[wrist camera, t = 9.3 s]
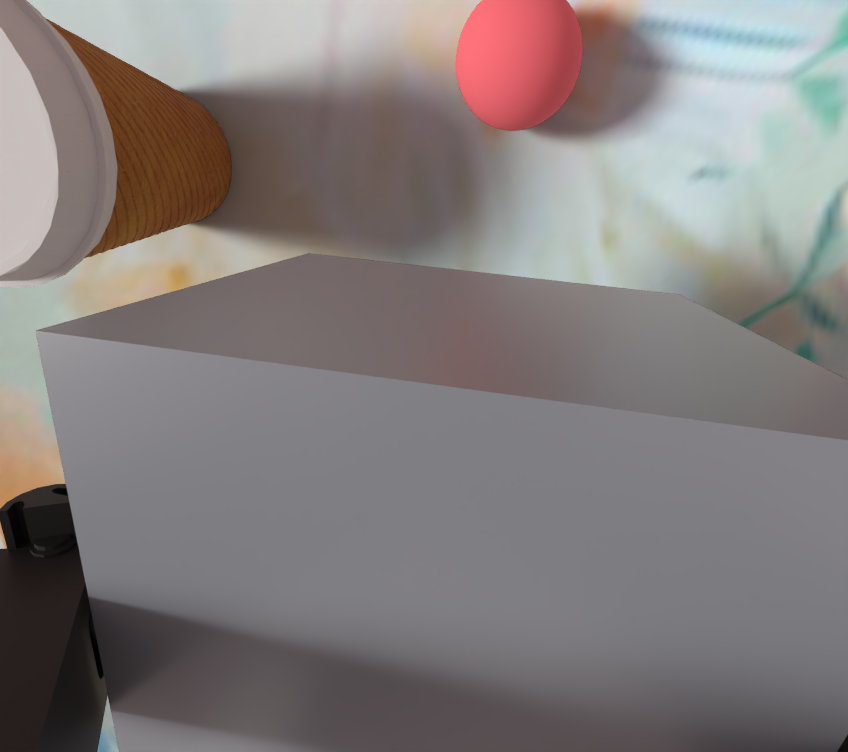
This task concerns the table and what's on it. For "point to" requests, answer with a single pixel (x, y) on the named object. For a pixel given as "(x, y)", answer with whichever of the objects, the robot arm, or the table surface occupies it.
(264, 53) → the table surface
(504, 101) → the ball
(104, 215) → the disposable coffee cup
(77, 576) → the robot arm
